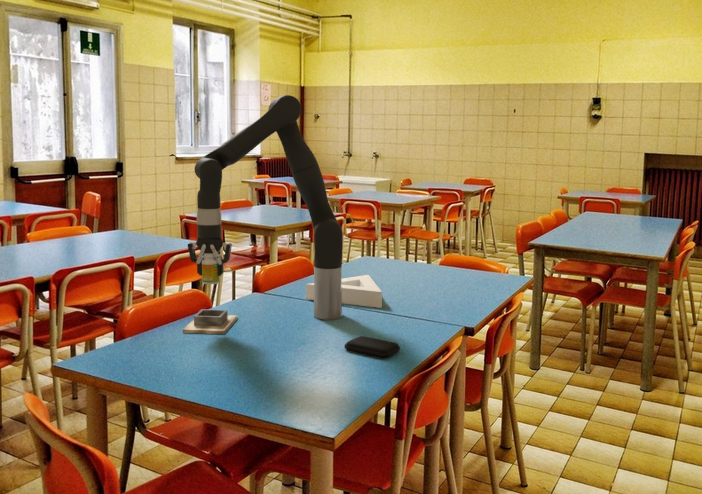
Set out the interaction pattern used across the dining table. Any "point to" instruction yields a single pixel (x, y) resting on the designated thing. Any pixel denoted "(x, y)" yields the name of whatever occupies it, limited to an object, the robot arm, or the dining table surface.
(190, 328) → the caddy
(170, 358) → the dining table surface
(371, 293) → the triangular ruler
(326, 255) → the robot arm
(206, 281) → the supplement bottle
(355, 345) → the carrying case or bag
